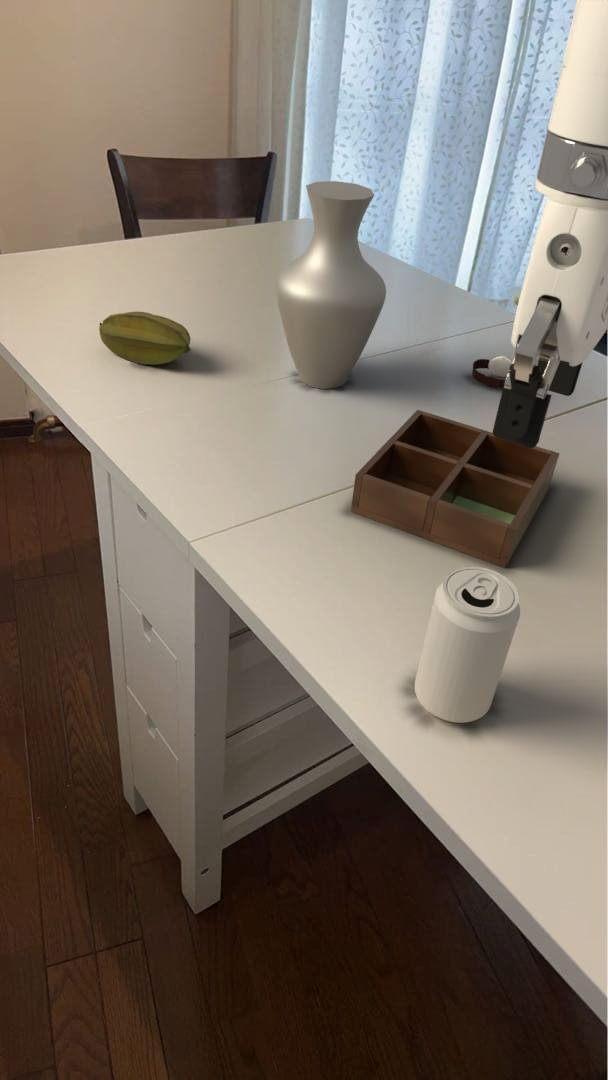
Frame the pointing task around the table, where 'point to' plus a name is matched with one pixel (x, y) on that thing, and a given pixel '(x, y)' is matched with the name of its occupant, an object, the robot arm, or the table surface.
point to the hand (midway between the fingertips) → (534, 414)
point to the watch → (496, 366)
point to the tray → (455, 486)
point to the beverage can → (466, 643)
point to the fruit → (144, 337)
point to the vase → (330, 289)
